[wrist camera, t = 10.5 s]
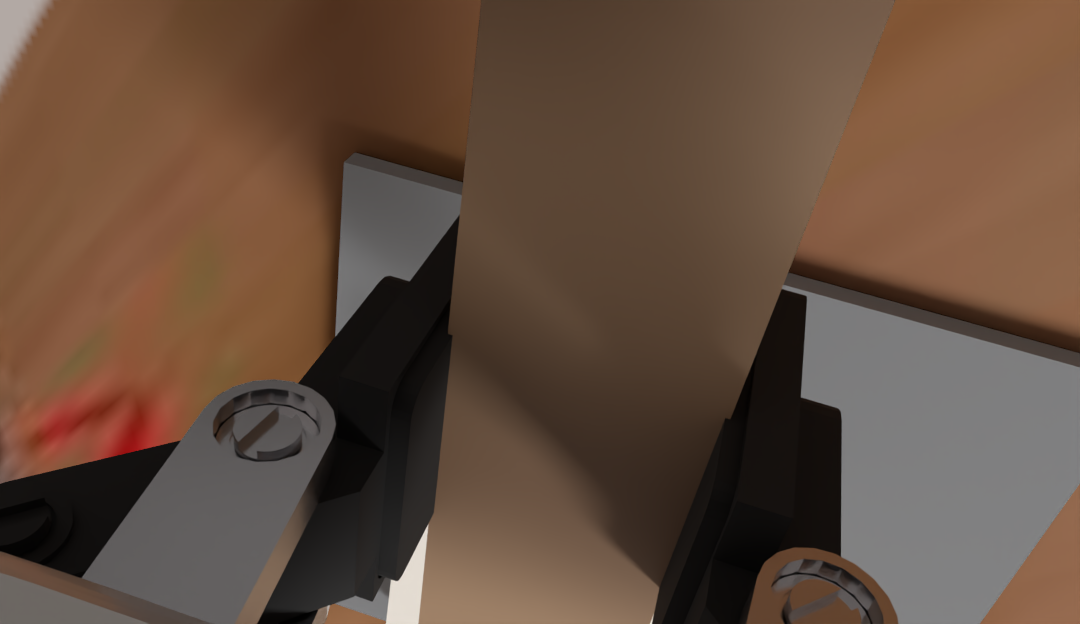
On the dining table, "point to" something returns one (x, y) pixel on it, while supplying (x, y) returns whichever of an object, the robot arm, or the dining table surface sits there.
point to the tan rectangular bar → (618, 280)
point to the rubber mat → (845, 412)
